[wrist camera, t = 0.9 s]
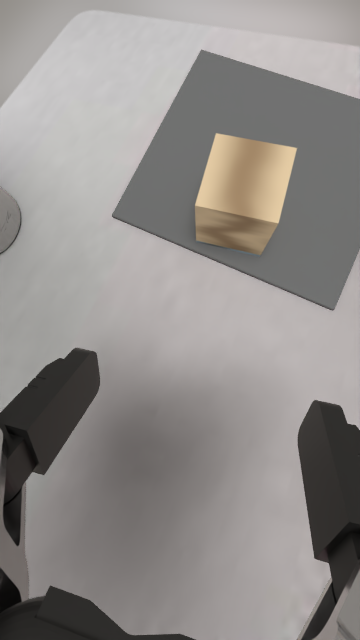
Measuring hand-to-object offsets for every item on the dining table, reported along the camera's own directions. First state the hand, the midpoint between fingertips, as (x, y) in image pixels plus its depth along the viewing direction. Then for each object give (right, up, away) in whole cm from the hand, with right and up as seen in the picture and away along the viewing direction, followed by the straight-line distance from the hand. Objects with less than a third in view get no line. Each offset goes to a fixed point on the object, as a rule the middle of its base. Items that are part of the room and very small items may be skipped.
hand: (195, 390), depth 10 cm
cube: (+5, +14, +20) cm, 24 cm away
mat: (+9, +20, +21) cm, 30 cm away
